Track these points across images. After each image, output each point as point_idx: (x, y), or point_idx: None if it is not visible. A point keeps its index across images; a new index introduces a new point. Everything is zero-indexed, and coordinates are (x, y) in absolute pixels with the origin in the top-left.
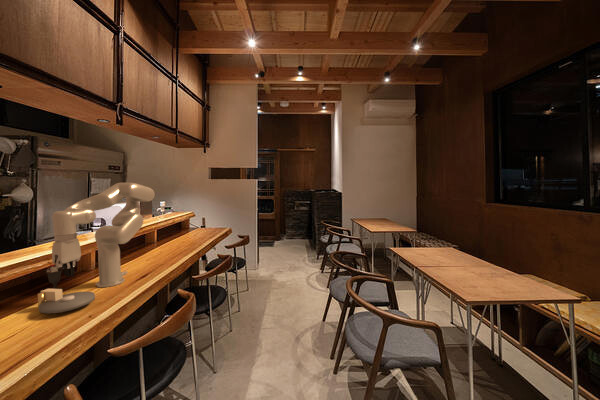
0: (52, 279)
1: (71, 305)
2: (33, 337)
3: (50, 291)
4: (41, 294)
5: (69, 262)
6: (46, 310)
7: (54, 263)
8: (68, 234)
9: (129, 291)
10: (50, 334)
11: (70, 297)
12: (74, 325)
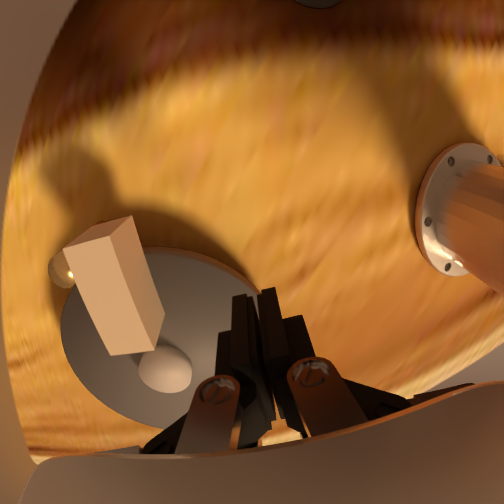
0: None
1: (146, 419)
2: (52, 413)
3: (96, 323)
4: (62, 286)
5: (326, 431)
6: (77, 372)
7: (61, 465)
8: None
9: (377, 386)
10: (80, 433)
11: (168, 387)
12: (127, 445)
